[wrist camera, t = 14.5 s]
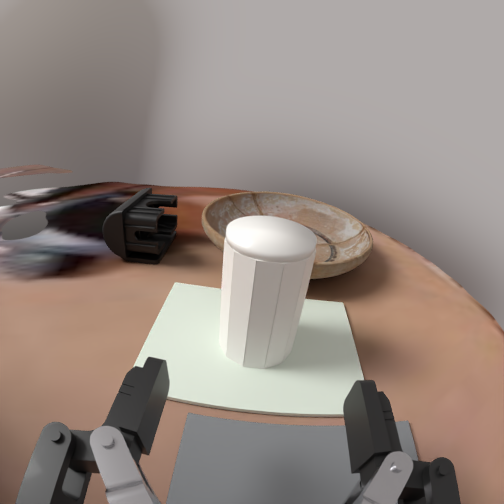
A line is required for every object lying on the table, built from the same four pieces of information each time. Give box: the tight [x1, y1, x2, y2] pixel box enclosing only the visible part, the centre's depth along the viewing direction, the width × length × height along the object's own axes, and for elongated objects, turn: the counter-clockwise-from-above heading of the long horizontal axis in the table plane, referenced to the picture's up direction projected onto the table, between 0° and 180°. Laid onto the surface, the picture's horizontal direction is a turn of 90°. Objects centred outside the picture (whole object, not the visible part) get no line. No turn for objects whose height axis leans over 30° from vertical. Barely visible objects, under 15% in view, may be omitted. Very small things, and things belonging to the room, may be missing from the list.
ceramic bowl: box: [202, 192, 373, 279], centre depth 40 cm, size 23×24×5 cm
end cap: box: [103, 188, 177, 264], centre depth 36 cm, size 10×7×7 cm
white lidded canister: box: [219, 216, 317, 369], centre depth 22 cm, size 6×6×10 cm
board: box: [134, 282, 364, 417], centre depth 24 cm, size 18×14×1 cm
